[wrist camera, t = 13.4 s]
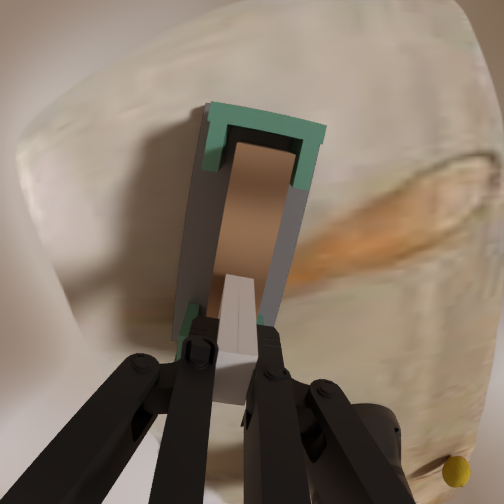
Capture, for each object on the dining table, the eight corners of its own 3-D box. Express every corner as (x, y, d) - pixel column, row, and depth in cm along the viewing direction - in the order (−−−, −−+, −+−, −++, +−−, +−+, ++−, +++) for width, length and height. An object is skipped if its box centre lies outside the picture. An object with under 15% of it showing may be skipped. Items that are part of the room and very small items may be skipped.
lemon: (456, 446, 41) (471, 476, 34) (464, 450, 43) (479, 478, 35) (432, 463, 43) (446, 493, 35) (442, 466, 44) (455, 495, 37)
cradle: (264, 348, 31) (268, 392, 25) (173, 333, 30) (160, 375, 24) (320, 127, 24) (343, 125, 18) (207, 104, 23) (195, 94, 17)
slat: (239, 330, 29) (237, 392, 21) (206, 324, 28) (195, 385, 21) (279, 148, 23) (295, 154, 16) (239, 140, 23) (237, 142, 15)
